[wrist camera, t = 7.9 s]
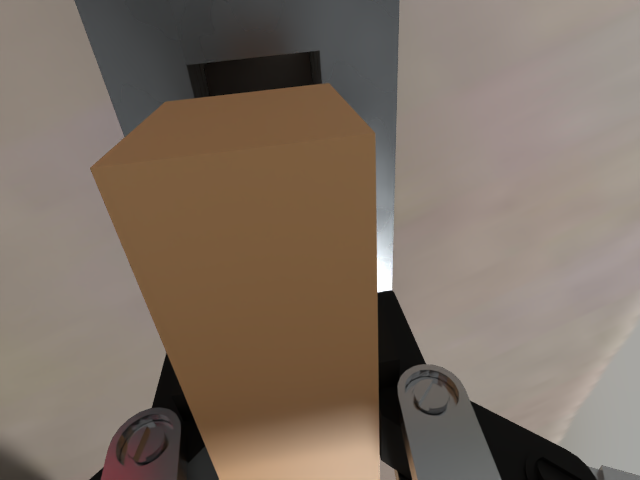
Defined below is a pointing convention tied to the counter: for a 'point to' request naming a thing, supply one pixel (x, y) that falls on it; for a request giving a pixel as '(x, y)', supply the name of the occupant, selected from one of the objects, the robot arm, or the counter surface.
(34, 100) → the counter surface
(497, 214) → the counter surface
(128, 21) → the dark gray slotted block
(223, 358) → the tan bridge block
